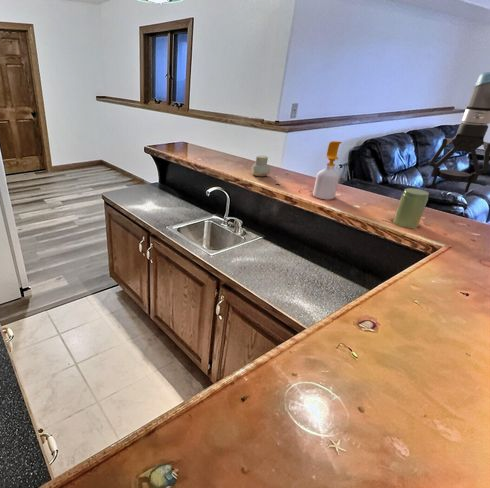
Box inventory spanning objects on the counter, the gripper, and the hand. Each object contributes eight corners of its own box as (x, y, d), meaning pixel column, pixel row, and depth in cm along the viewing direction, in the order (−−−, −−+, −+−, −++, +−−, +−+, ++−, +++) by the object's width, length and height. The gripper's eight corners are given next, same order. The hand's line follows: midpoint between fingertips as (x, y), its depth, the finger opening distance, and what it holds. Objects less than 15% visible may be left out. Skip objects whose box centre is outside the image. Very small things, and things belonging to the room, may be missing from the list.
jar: (418, 223, 131) (430, 191, 126) (417, 229, 126) (429, 196, 120) (394, 217, 136) (405, 186, 130) (391, 224, 130) (402, 191, 124)
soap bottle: (314, 198, 154) (326, 142, 143) (311, 192, 162) (323, 138, 151) (335, 200, 153) (350, 143, 142) (332, 194, 160) (345, 139, 149)
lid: (439, 173, 130) (441, 168, 130) (470, 178, 125) (472, 172, 124) (435, 177, 124) (437, 172, 124) (467, 183, 119) (469, 177, 118)
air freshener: (269, 178, 183) (272, 159, 178) (253, 177, 183) (256, 158, 179) (265, 172, 193) (267, 154, 188) (250, 172, 193) (252, 154, 188)
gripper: (434, 121, 119) (412, 184, 129) (520, 128, 108) (488, 197, 118) (435, 119, 125) (414, 180, 135) (517, 125, 113) (486, 192, 123)
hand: (448, 188), depth 126 cm, fingers closed on lid, 9 cm apart
